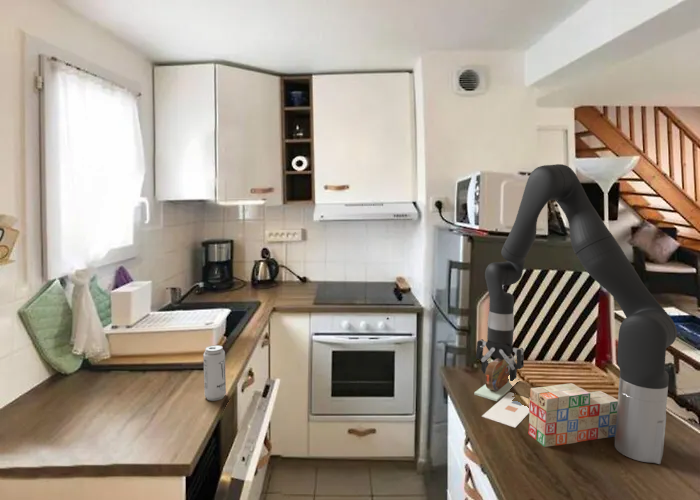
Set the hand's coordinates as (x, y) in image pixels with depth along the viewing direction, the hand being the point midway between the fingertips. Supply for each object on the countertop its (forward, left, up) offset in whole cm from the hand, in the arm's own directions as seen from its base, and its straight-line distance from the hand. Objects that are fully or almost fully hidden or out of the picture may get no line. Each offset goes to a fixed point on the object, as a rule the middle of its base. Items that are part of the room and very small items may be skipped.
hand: (498, 376), depth 135 cm
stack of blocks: (-25, +15, -4) cm, 30 cm away
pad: (0, 0, -4) cm, 4 cm away
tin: (0, 0, -3) cm, 3 cm away
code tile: (-8, +11, -4) cm, 14 cm away
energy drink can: (+61, +62, -4) cm, 87 cm away
